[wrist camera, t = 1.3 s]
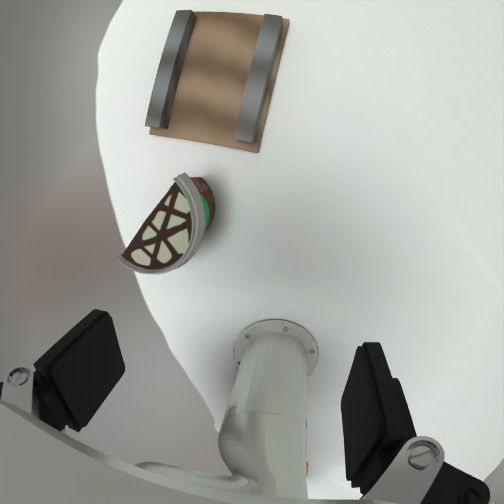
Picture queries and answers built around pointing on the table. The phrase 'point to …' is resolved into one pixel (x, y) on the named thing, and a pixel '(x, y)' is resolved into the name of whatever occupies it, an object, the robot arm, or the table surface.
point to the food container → (172, 228)
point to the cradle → (217, 77)
